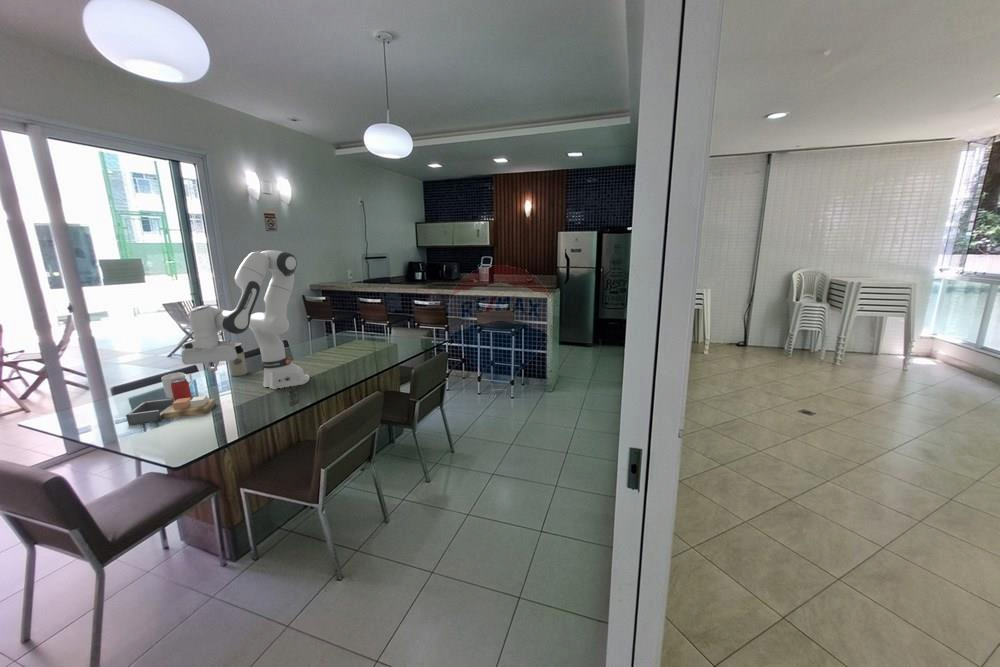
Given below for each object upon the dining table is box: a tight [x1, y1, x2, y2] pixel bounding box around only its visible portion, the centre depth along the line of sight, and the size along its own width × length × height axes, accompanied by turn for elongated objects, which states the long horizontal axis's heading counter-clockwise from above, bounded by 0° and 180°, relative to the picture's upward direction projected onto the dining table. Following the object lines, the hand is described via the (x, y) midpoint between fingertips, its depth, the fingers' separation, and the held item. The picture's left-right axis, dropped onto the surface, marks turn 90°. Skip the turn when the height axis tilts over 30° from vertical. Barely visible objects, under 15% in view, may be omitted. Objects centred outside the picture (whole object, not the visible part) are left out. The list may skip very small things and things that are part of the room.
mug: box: [161, 372, 193, 400], centre depth 193 cm, size 12×9×11 cm
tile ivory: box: [190, 395, 209, 407], centre depth 176 cm, size 5×5×3 cm
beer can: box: [171, 377, 193, 402], centre depth 183 cm, size 7×7×12 cm
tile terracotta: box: [172, 397, 191, 410], centre depth 174 cm, size 5×5×3 cm
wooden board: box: [162, 398, 217, 420], centre depth 175 cm, size 16×11×3 cm
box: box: [125, 398, 175, 427], centre depth 171 cm, size 11×14×5 cm
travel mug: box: [227, 342, 248, 377], centre depth 221 cm, size 8×8×18 cm
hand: (213, 371), depth 175 cm, fingers closed
